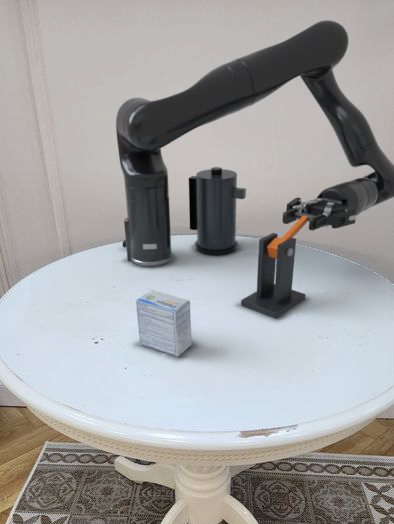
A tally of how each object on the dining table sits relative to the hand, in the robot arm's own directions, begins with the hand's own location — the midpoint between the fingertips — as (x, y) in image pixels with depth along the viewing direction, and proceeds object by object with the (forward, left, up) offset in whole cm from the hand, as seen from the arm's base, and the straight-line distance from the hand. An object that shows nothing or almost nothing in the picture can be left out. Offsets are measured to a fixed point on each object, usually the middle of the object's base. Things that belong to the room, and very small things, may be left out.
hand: (297, 221), depth 99 cm
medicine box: (-14, -28, -15) cm, 35 cm away
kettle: (-23, +16, -14) cm, 31 cm away
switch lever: (-1, -1, -3) cm, 3 cm away
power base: (-2, -6, -14) cm, 16 cm away
